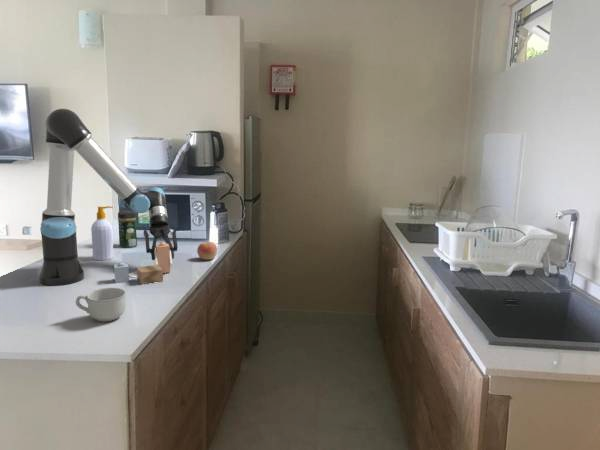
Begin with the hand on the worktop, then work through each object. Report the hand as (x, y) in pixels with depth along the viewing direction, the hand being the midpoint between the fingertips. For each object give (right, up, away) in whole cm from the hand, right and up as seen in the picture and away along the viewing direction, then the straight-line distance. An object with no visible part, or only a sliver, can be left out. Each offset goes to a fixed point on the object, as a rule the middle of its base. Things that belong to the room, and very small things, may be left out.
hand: (163, 265), depth 184 cm
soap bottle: (-35, +1, +24) cm, 42 cm away
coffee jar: (-33, +5, +49) cm, 60 cm away
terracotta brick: (-2, -3, +4) cm, 5 cm away
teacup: (-5, -12, -46) cm, 48 cm away
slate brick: (-14, -5, -9) cm, 17 cm away
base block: (-3, -5, -8) cm, 10 cm away
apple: (+12, 0, +26) cm, 29 cm away
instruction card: (-11, -4, 0) cm, 11 cm away
